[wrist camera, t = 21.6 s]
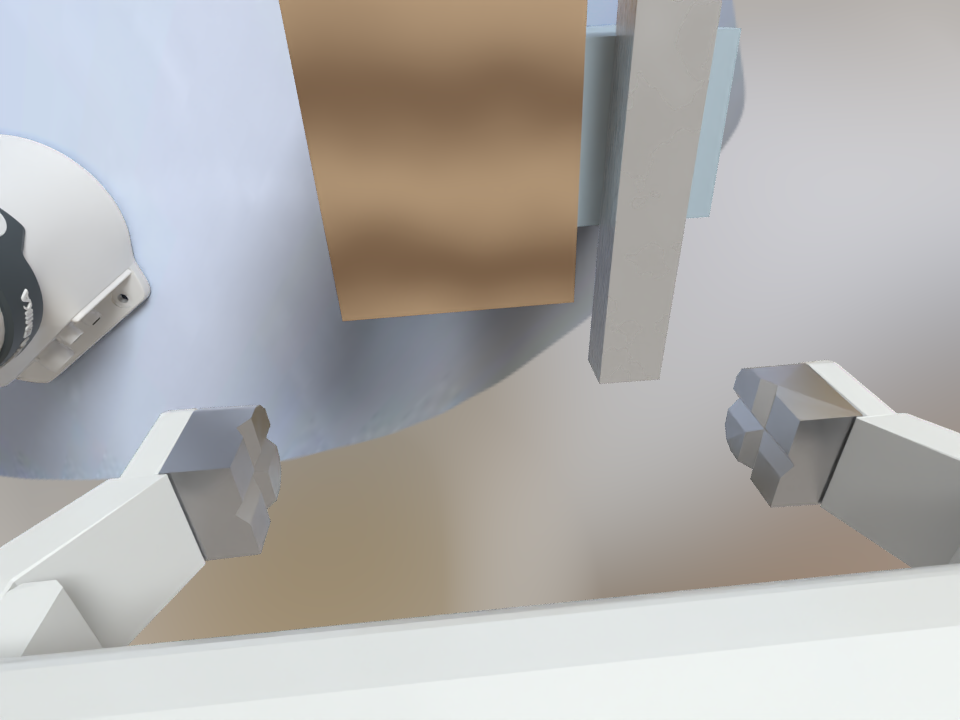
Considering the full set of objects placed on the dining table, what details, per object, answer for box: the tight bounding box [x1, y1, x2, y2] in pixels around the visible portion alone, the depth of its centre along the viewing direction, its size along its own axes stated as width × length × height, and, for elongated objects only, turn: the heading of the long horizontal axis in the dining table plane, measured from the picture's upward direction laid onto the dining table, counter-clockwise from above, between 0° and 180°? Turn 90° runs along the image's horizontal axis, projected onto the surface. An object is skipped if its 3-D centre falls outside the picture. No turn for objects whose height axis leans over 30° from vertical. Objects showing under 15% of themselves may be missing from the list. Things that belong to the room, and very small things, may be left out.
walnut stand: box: [279, 0, 587, 321], centre depth 31 cm, size 18×10×26 cm, turn 3°
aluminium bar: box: [588, 0, 722, 384], centre depth 32 cm, size 24×4×3 cm, turn 2°
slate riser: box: [577, 25, 741, 227], centre depth 38 cm, size 10×10×15 cm
